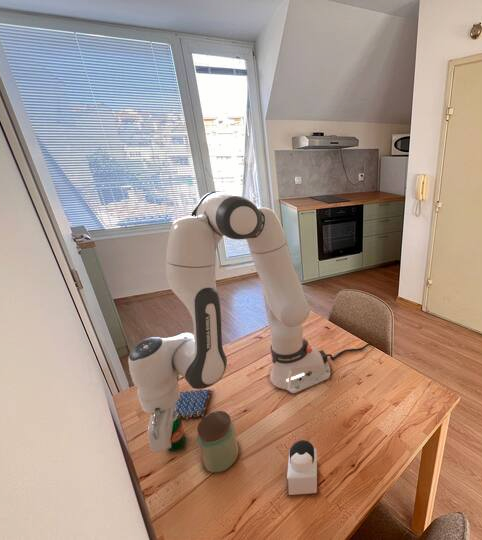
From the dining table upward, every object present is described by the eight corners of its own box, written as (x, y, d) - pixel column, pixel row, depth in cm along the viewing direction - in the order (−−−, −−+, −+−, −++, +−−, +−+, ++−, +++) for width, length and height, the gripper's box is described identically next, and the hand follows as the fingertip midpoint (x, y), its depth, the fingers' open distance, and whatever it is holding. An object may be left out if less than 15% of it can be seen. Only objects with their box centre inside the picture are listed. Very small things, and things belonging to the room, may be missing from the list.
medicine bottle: (290, 466, 80) (288, 437, 75) (316, 464, 80) (316, 435, 75) (288, 495, 73) (285, 465, 68) (316, 493, 74) (316, 463, 69)
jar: (237, 436, 87) (231, 405, 82) (239, 465, 80) (232, 433, 74) (204, 446, 84) (196, 414, 79) (203, 477, 77) (193, 444, 71)
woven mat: (204, 417, 93) (203, 412, 92) (168, 421, 91) (167, 416, 90) (212, 391, 102) (211, 387, 101) (180, 394, 101) (179, 390, 100)
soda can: (178, 454, 82) (168, 424, 77) (162, 450, 83) (152, 421, 78) (190, 437, 86) (182, 408, 82) (175, 434, 87) (166, 405, 82)
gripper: (167, 425, 69) (178, 462, 75) (178, 366, 86) (187, 400, 92) (136, 433, 67) (150, 471, 72) (154, 371, 84) (164, 405, 90)
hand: (170, 431), depth 82 cm, fingers open, 8 cm apart
